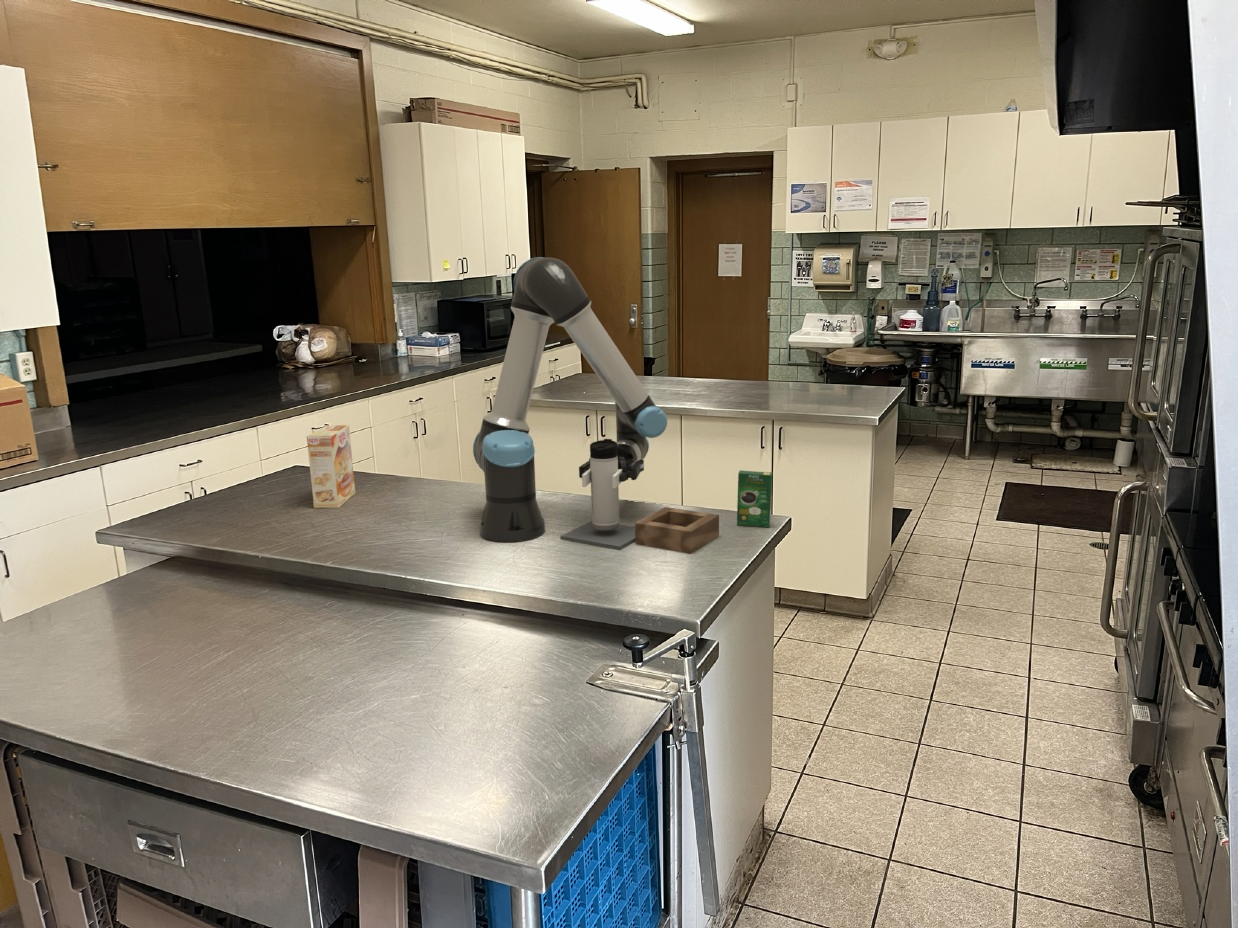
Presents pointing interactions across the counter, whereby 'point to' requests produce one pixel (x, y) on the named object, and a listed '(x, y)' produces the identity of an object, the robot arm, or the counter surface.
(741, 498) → the coffee box
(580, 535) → the mat
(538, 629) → the counter surface
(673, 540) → the holder
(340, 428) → the coffeecake box
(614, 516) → the travel mug
